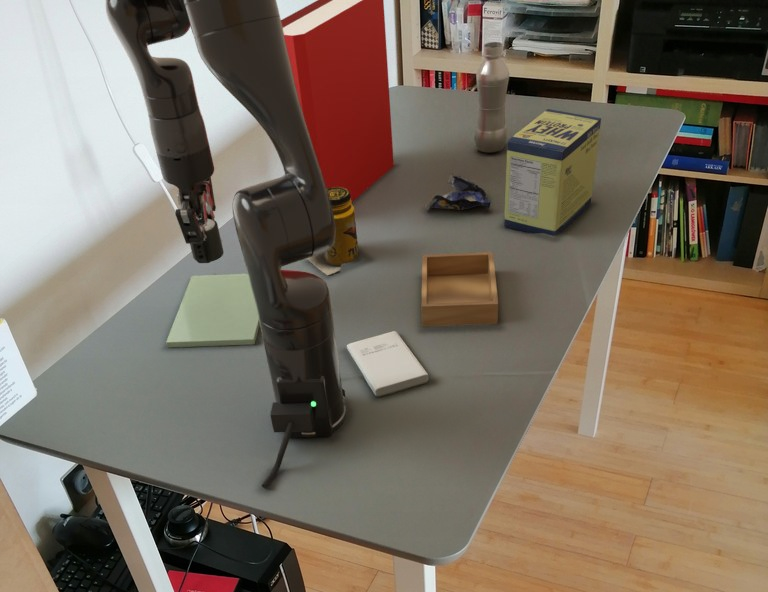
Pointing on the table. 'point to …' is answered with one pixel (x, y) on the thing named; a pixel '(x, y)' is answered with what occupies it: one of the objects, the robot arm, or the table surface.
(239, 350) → the table surface
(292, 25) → the book
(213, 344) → the sushi plate
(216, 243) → the sushi roll
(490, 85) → the plastic bottle
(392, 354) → the hard drive
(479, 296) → the bento box
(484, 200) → the snack package
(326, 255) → the condiment
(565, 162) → the protein box
